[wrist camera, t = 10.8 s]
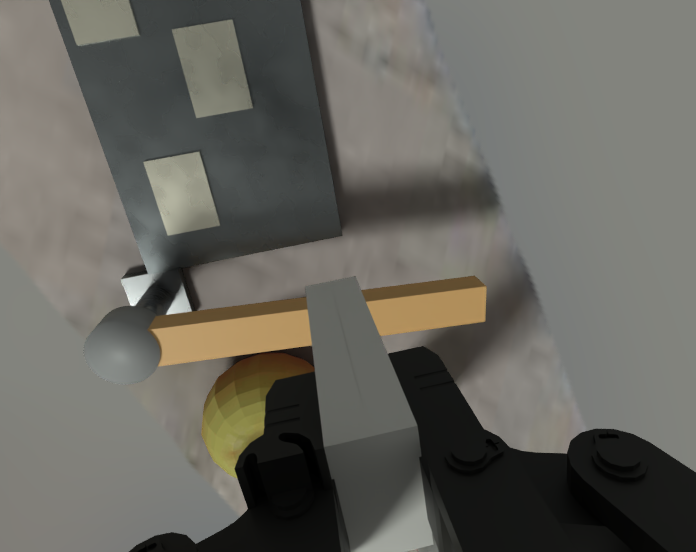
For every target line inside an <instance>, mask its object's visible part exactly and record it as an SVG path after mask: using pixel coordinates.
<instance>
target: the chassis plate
mask: <svg viewBox="0 0 696 552" xmlns="http://www.w3.org/2000/svg"><path fill="white" fill-rule="evenodd" d="M49 2H50V5H51V8H52V10H53V13H54V16H55V19H56V21H57V24H58V27H59V30H60V32H61V35H62V38H63V41H64V43H65V46H66V49H67V52H68V54H69V57H70V60H71V63H72V65H73V68H74V71H75V74H76V76H77V79H78V82H79V85H80V88H81V90H82V93H83V96H84V99H85V101H86V104H87V107H88V110H89V112H90V115H91V118H92V121H93V123H94V126H95V129H96V132H97V134H98V137H99V140H100V143H101V145H102V148H103V151H104V154H105V157H106V159H107V162H108V165H109V168H110V170H111V173H112V176H113V179H114V181H115V184H116V187H117V190H118V192H119V195H120V198H121V201H122V203H123V206H124V209H125V212H126V214H127V217H128V220H129V223H130V226H131V228H132V231H133V234H134V237H135V239H136V242H137V245H138V248H139V250H140V253H141V256H142V259H143V261H144V264H145V267H146V270H147V272H148V275H149V274H154V273H159V272H164V271H169V270H174V269H179V268H184V267H189V266H194V265H199V264H204V263H209V262H214V261H219V260H224V259H229V258H234V257H239V256H244V255H249V254H254V253H259V252H264V251H269V250H274V249H279V248H284V247H289V246H294V245H299V244H304V243H309V242H314V241H319V240H324V239H329V238H334V237H339V236H342V231H341V225H340V219H339V214H338V208H337V203H336V197H335V191H334V186H333V180H332V175H331V169H330V163H329V158H328V152H327V147H326V141H325V135H324V130H323V124H322V119H321V113H320V107H319V102H318V96H317V91H316V85H315V79H314V74H313V68H312V63H311V57H310V51H309V46H308V40H307V35H306V29H305V23H304V18H303V12H302V7H301V1H300V0H49Z"/></svg>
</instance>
